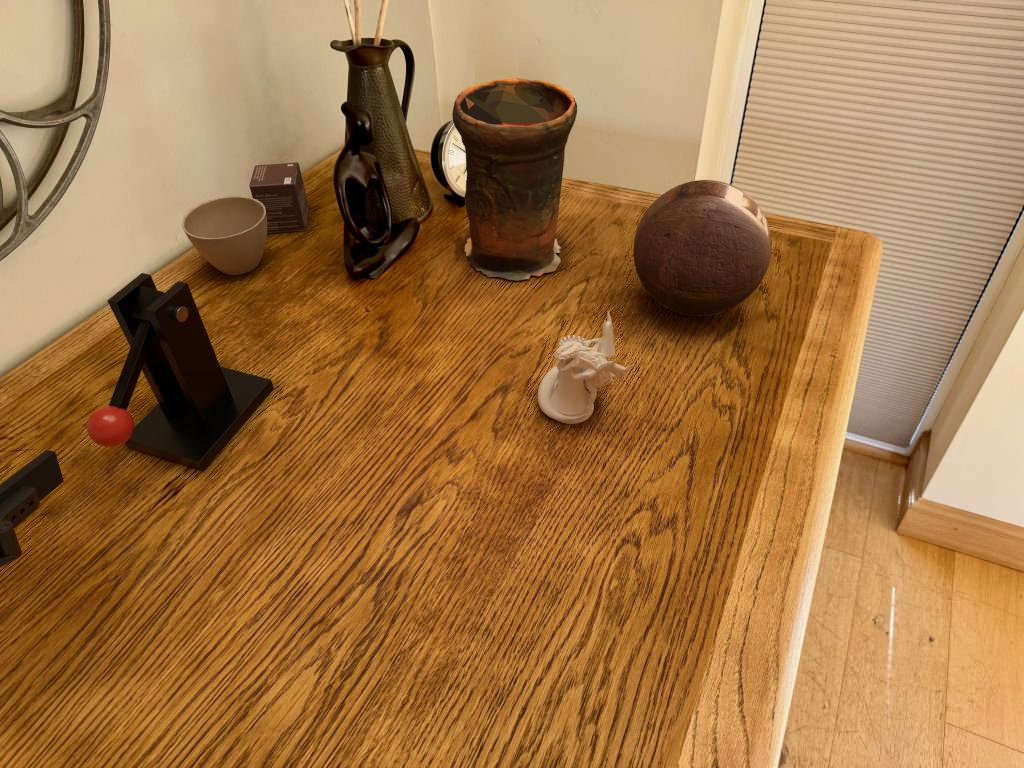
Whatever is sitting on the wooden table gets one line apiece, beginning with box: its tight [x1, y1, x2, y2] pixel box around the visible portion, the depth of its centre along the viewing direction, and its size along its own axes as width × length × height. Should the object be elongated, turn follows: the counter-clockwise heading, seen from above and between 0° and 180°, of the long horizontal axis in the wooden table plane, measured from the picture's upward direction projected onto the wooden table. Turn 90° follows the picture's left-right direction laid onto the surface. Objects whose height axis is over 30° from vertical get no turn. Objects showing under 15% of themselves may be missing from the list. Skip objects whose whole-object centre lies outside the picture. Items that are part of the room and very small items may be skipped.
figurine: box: [537, 310, 636, 425], centre depth 69 cm, size 11×8×12 cm
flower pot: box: [181, 195, 268, 276], centre depth 92 cm, size 10×10×7 cm
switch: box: [86, 287, 165, 448], centre depth 64 cm, size 14×4×4 cm
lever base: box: [106, 272, 275, 471], centre depth 69 cm, size 12×9×16 cm
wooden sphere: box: [632, 179, 773, 317], centre depth 81 cm, size 15×15×15 cm
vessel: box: [451, 77, 578, 281], centre depth 89 cm, size 14×14×20 cm
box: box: [248, 162, 310, 234], centre depth 99 cm, size 6×6×7 cm
